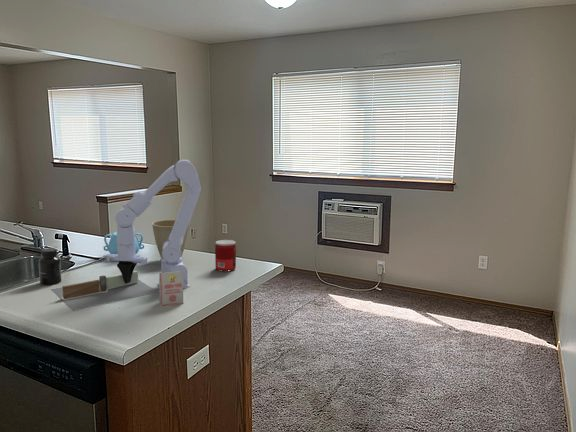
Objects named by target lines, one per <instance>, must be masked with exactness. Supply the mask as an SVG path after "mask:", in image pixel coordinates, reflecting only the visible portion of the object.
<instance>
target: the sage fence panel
mask: <svg viewBox="0 0 576 432" xmlns="http://www.w3.org/2000/svg"><path fill="white" fill-rule="evenodd" d="M138 274H139V273H138V270H134V271H133V273H132V277H131V282H130V283H127V284H126V283H125V282H124V279H123V276H122V273H119V274H115V275H110V276H106V289H113V288H117V287H121V286H125V285H130V284H134V283H138V280H139V275H138Z"/></svg>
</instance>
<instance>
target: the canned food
mask: <svg viewBox="0 0 576 432" xmlns="http://www.w3.org/2000/svg"><path fill="white" fill-rule="evenodd" d="M236 243H237V242H236V241H235V240H233V239H220V240H216V241H215V245H214V246H215V247H214V248H215V249H214V253H215V255H214V256H215V262H214V263H215V269H217V270H216V271H218V270H222V271H221V272H224V271H226V272H229V271H228V270H233V269H235V270H236V267H237V261H236V260H237V244H236ZM233 271H234V270H233Z"/></svg>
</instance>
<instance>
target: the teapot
mask: <svg viewBox="0 0 576 432" xmlns="http://www.w3.org/2000/svg"><path fill="white" fill-rule="evenodd" d="M137 236H140V241H139V239H138V237H137ZM107 237H110V239H109V242H108V241H107ZM103 240H104V244H105V245H104V246H103V251H105V252H109V254H118V251H117V231H114V232H113V233H108V234H105V236H104V237H103ZM143 240H144V236H143V234H142V233H139V232H135V253H136V255H137V254H138V253H139V252H140V250H143V249H145V244H144V243H143Z"/></svg>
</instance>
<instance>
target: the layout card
mask: <svg viewBox="0 0 576 432" xmlns="http://www.w3.org/2000/svg"><path fill="white" fill-rule="evenodd" d="M98 280H99V279H98ZM99 283H100V280H99ZM50 290H51V291H52V292H53V293H54V294H55V295H56V296H57V297H58V298H59V299H60V300H61V301H62V302H63V303H64V304H65V305H66V306H67V307H68V308H69V309H71V310H72V311H80V310H83V309H87V308H92V307H96V306H100V305H101V306H102V305H105V304H110V303H115V302H120V301H124V300H128V299H134V298H137V297H143V296H147V295H152V294H157V293H159V290H156V289H155V288H153V287H151V286H150V285H148V284H146V283H145V282H143V281H141V280H139V279H138V283H134V284H130V285H125V286H121V287H117V288H113V289H106V290H107V291H105V292H98V293H93V294H88V295H83V296H78V297H73V298H68V299H63V288H62V286H61V287H55V288H52V289H50Z"/></svg>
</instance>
